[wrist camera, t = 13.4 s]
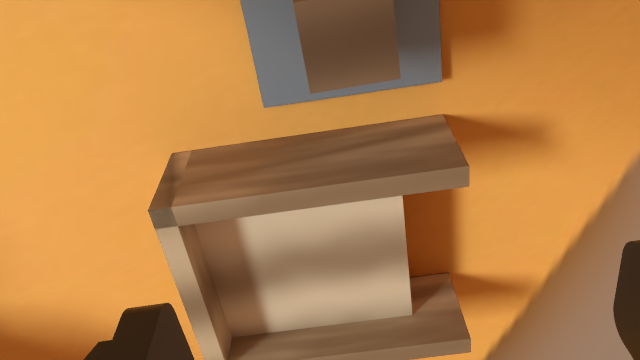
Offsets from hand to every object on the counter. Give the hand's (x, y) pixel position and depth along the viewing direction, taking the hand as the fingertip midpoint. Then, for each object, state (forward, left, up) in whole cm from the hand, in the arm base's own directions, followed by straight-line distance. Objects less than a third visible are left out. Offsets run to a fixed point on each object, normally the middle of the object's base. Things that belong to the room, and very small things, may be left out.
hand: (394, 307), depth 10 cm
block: (0, 0, -22) cm, 22 cm away
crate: (+14, -3, -22) cm, 26 cm away
